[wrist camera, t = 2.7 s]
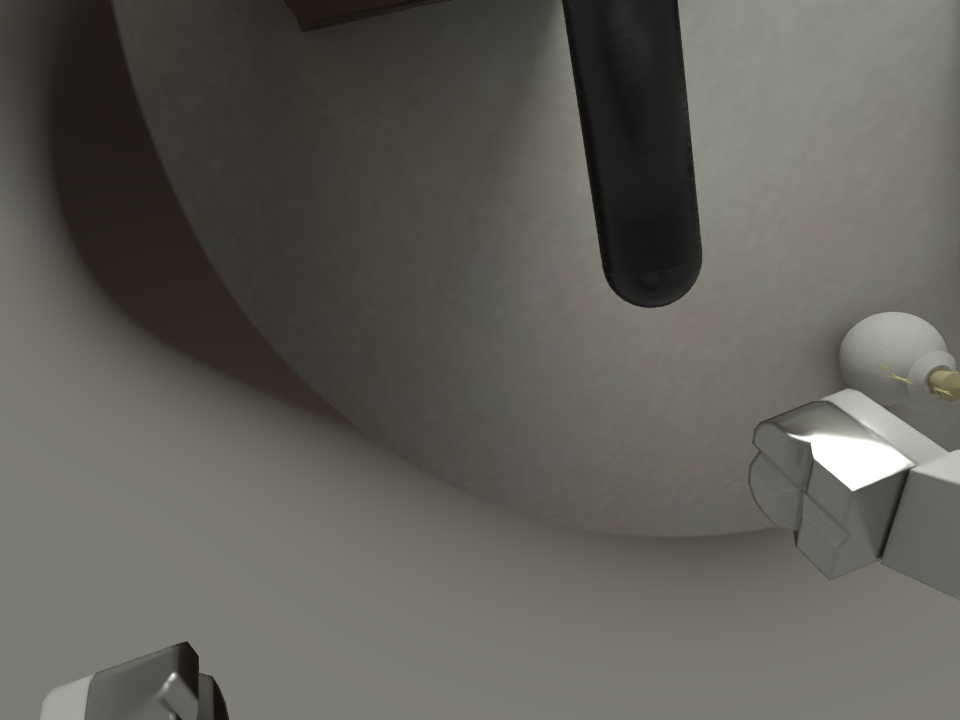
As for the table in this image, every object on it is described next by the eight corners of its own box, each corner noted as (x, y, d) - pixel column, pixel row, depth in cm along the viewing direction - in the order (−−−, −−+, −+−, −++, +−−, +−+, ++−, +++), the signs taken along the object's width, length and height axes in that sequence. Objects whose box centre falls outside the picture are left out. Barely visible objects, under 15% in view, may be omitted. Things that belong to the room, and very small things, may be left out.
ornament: (880, 390, 48) (1004, 454, 39) (789, 377, 46) (894, 440, 37) (913, 309, 46) (1050, 355, 37) (818, 292, 45) (937, 336, 35)
